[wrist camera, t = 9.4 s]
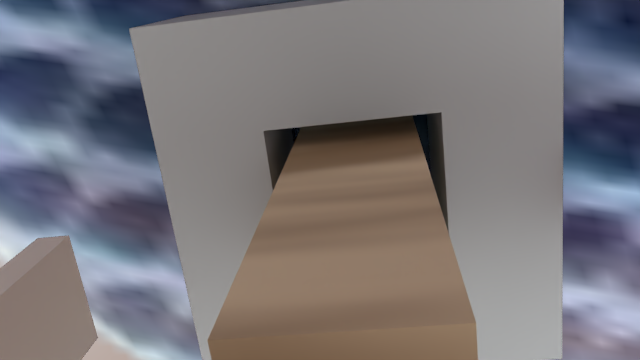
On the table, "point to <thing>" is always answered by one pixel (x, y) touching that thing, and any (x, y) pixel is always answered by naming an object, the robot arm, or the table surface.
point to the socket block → (366, 104)
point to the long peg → (350, 257)
